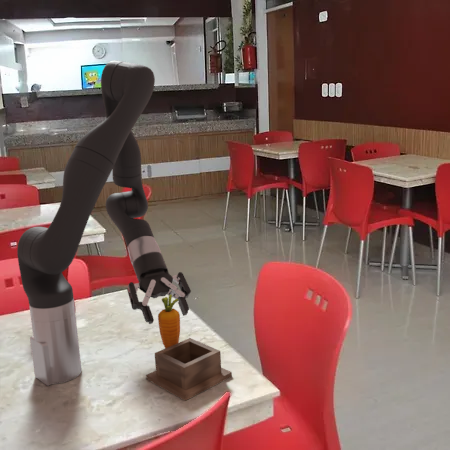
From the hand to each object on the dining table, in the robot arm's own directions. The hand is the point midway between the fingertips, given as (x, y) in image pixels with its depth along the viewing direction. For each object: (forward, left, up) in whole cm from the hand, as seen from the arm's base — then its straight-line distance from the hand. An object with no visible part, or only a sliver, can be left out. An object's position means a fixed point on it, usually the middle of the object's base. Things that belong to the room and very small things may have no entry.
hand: (169, 318), depth 126 cm
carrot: (0, 0, -10) cm, 10 cm away
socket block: (-4, -11, -9) cm, 15 cm away
